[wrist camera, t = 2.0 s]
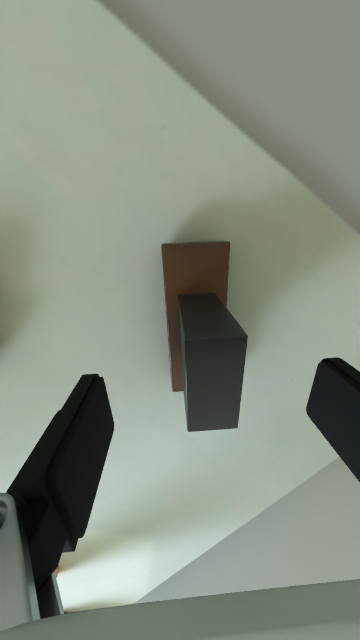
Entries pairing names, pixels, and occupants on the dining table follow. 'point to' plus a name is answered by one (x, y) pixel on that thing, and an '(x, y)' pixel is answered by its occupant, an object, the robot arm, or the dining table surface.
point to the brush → (203, 334)
